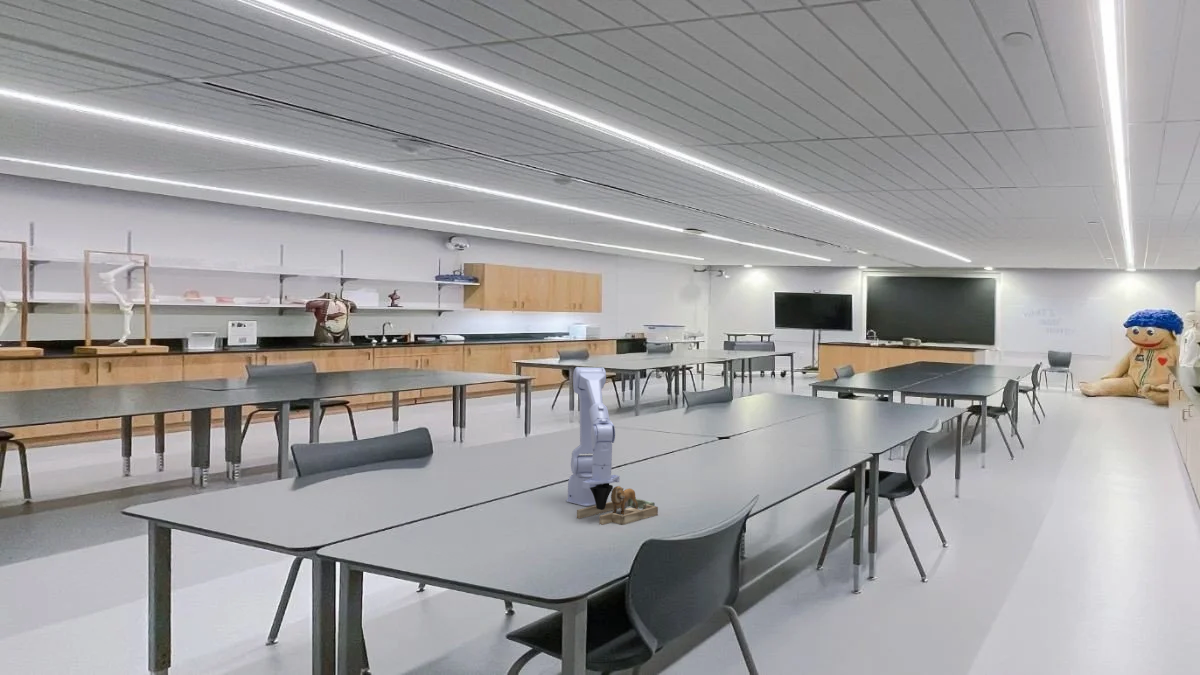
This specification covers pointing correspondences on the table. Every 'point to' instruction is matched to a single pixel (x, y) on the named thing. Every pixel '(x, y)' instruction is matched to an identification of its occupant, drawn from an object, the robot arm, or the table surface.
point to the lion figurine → (622, 498)
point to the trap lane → (629, 516)
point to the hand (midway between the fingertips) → (600, 509)
